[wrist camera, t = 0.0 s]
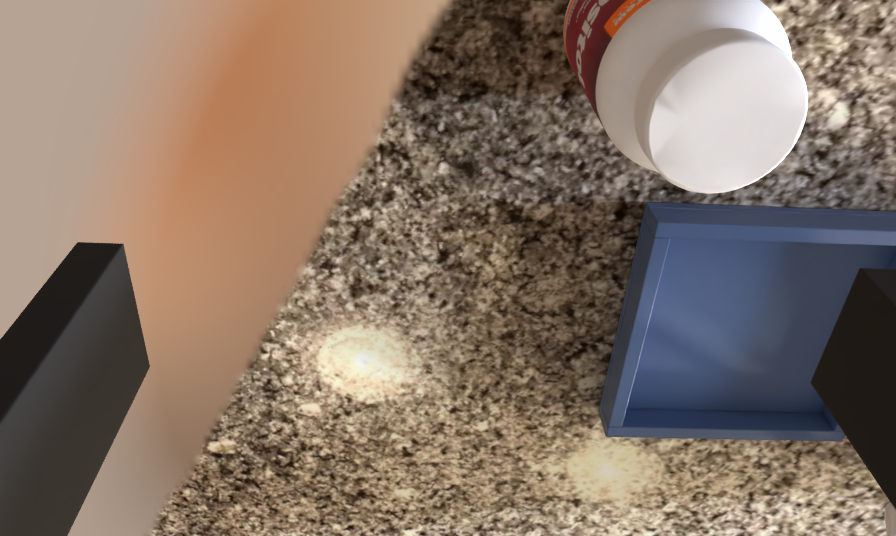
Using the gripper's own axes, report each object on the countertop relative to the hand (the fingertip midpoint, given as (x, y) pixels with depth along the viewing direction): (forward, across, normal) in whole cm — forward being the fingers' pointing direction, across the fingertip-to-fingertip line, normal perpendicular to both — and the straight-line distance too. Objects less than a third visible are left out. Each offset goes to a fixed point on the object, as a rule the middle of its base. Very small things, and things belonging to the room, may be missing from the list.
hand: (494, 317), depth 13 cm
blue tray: (+20, +16, -14) cm, 29 cm away
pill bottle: (+20, +7, +1) cm, 21 cm away
